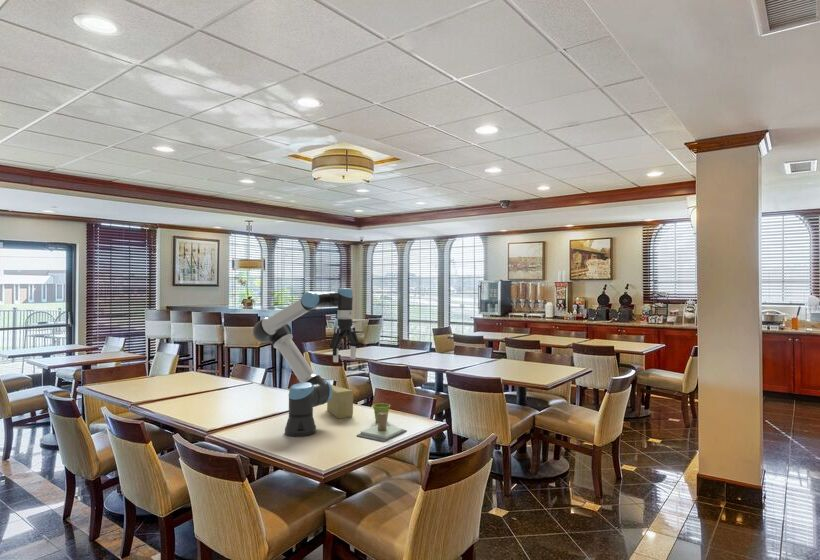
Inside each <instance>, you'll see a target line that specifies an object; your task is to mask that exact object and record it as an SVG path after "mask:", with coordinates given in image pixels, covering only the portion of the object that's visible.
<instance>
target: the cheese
mask: <svg viewBox="0 0 820 560" xmlns="http://www.w3.org/2000/svg"><path fill="white" fill-rule="evenodd" d="M331 386H332V390H333V392H332V397H331V399H330V400H329V401H328V402H326V406H327V407H326V410H327V411H328V412H329V413H331V414H332V415H333V416H335V417H336V418H337V419H339V420H340V419H345V418H352V417H353V415H354V391H353V390H352V389H348V388H345V387H340V386H336V385H333V384H331Z"/></svg>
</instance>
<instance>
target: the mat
mask: <svg viewBox="0 0 820 560" xmlns="http://www.w3.org/2000/svg"><path fill="white" fill-rule="evenodd" d="M407 431H408V430H406V429H403V432H400V433H398V434H396V435H394V436H392V437H390V438H387V439H383V438H378V437H373V436H368V435H364V434H361V432H360V433H358V434H356V437H359V438H363V439H368V440H373V441H378V442H383V443H385V442H387V441H390V440H391V439H393V438H396V437H397V436H400V435H402V434H405V433H406V432H407Z"/></svg>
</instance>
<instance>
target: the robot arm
mask: <svg viewBox="0 0 820 560" xmlns="http://www.w3.org/2000/svg"><path fill="white" fill-rule="evenodd" d="M353 300H354V295H353V289H352V288H349V287H348V288H347V287H339V288H338V289H337V291H306V292H304V293H303V294H302V296H301V298H299V299H298V300H296V301H294V302H293V303H290V305H287V306H286V307H284V308H283V309H281V310H279V311H278V312H276V313H275V314H273V315H271V316H269V317H265V318H262V319H260V320H259V321H258V322H257V323H255V324H254V325H253V328H252V335H253V337H254V339H255V340H256V341H258V342H260V343H265V344H266V343H270V344H271V345H272V348H274V349H277V350H278V351H279V352H280V354H281V355H282V357H283V358H284V360H285V361H286V363H287V364H288V367H290V369H291V371H292V372H293V373H294V376H296V378H297V380H298V381H299V382H298V383H295V384H292V385H291V386H290V387H289V389H288V418H287V422H286V425H285V428H284V434H285V435H286V436H287V437H295V438H296V437H298V438H299V437H307V436H308V437H309V436H312V435H314V434H316V432H317V426H316V424H315V419H314V414H313V413H314V408H315V407H318V406H321V405H324V404H327V402H328V401H329V400H330V399H331V397H332V392H333V390H332V386H331V385H332V384H331V383H330V382H329V381H328V380H325V379H322V377H321V375H320V374H316V373H315V372H314V370H313V369H312V367H311V366H310V365H309V363H308V361H307V360H306V358H305V357H304V355H303V354H302V353H301V350H299V348H298V347H297V345H296V344H295V342H294V341H293V337H294V336H293V327H292V325H291V324H290V323H291V322H293V321H295V320H296V319H298V318H300V317H301V316H303V315H305V314H307V313H308V312H309V311H312V310H313V309H315V308H320V307H321V308H322V307H324V308H325V307H335V308H336V307H337V316H336V317H337V327H338V328H334V330H333V335H332V337H331V340H330V344H329V349H332V362H333V363H339V346H340V344H341V342H342V340H343V339H344V338H347V339H348V341H349V343H350V345H351V346H350V355H349V356H350V357H349V358H350V360H356V358H357V357H356V353H357V347H358V346H359V344H360V343H359V339H358V336H357V332H356V327H354V326H353V319H352V318H353Z"/></svg>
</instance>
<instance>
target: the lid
mask: <svg viewBox="0 0 820 560" xmlns="http://www.w3.org/2000/svg"><path fill="white" fill-rule="evenodd" d="M403 430H404V428H401V427H400V428H399V427H396V426H391V425H388V418H387V413H378V422H377V424H376V425H373V426H370V427H369V428H366V429H364V430H361V431H360V433H361V434H364V435H368V436H373V437H378V438H383V439H387V438H390V437H392V436H394V435H396V434H398V433H400V432H403Z"/></svg>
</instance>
